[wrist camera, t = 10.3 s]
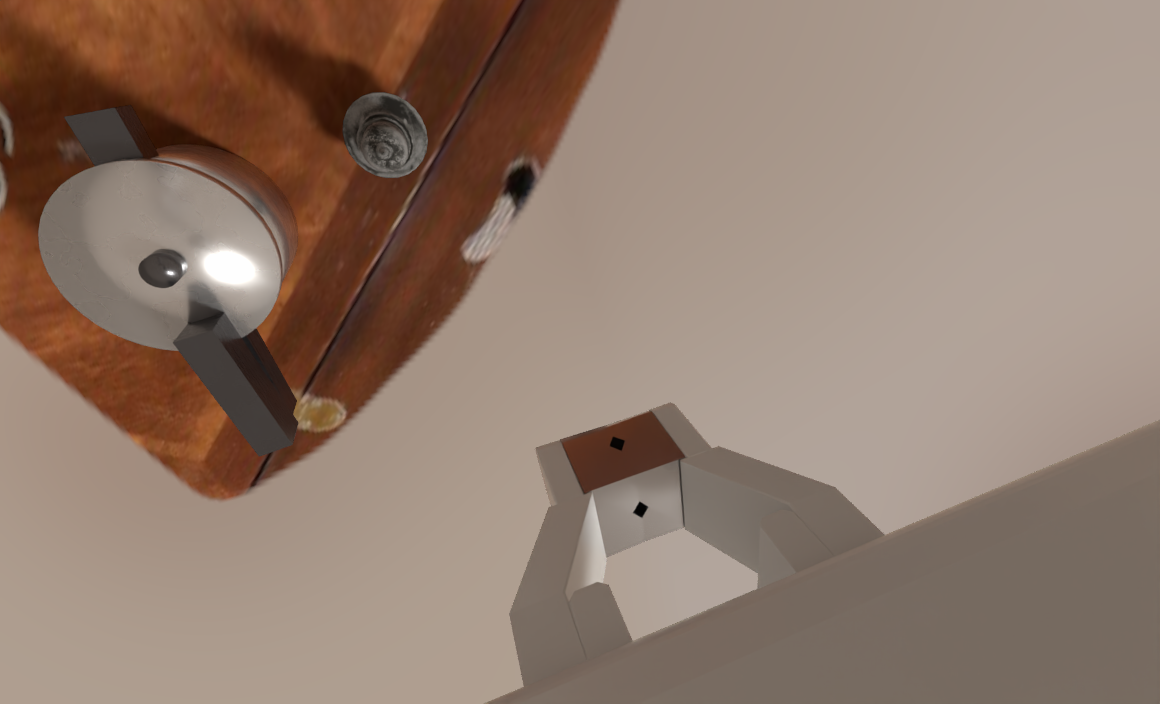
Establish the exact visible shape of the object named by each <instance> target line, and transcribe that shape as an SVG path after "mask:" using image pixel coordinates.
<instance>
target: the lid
mask: <svg viewBox="0 0 1160 704" xmlns="http://www.w3.org/2000/svg"><path fill="white" fill-rule="evenodd" d="M38 233H39V247H40V252H41V256H42V260H43V262H44V265H45V267H46V270H47V272H48V274H49V275H50V277H51V279H52V281H53V283H54V284H55V285H56V287H57V288H58V289H59V291H60V292H61V293H62V295H63V296H64V297H65V298H66V299H67V300H68V301H69V302H70V303H71V304H72V305H73V307H75V308H76V309H77V310H78V311H79V312H81V313H82V314H83V315H84V316H85V317H87V318H88V319H90V320H91V321H92V322H94V323H95V324H97V325H98V326H100V327H102V328H104V329H105V330H107V331H109V332H111V333H113V334H115V335H117V336H120V337H122V338H124V339H126V340H129V341H132V342H135V343H138V344H141V345H145V346H149V347H154V348H159V349H166V350H176V351H179V352H180V353H181V354H182V356H183V357H184V358H185V360H186V361H187V362H188V364H189V365H190V366H191V368H192V369H193V370H194V372H195V373H196V374H197V375H198V377H199V378H200V379H201V381H202V382H203V383H204V385H205V386H206V387H207V389H208V390H209V391H210V393H211V394H212V395H213V397H214V398H215V399H216V400H217V402H218V403H219V404H220V406H221V407H222V408H223V410H224V411H225V412H226V414H227V415H228V416H229V418H230V419H231V420H232V422H233V423H234V424H235V425H236V427H237V428H238V429H239V431H240V432H241V433H242V435H243V436H244V437H245V439H246V440H247V441H248V443H249V444H250V445H251V447H252V448H253V449H254V450H255V452H256V453H257V454H258V456H262V455H265V454H268V453H270V452H273V451H276V450H279V449H282V448H284V447H287V446H290V445H293V441H294V437H295V433H296V430H297V426H298V421H297V420H296V418H295V417H294V415H293V414H292V412H291V411H290V409H289V408H288V406H287V405H286V403H285V402H284V400H283V399H282V397H281V396H280V394H279V393H278V392H277V390H276V389H275V387H274V386H273V384H272V383H271V381H270V380H269V378H268V377H267V375H266V374H265V372H264V371H263V369H262V368H261V366H260V365H259V363H258V362H257V360H256V359H255V357H254V356H253V354H252V353H251V351H250V350H249V348H248V347H247V345H246V344H245V342H244V341H243V339H242V337H244V336H246V335H248V334H249V333H250V332H252V331H253V330H254V329H256V328H257V327H258V326H259V325H260V324H261V323H262V322H263V321H264V320H265V318H266V317H267V316H268V314H269V313H270V311H271V310H272V308H273V306H274V304H275V302H276V300H277V298H278V295H279V292H280V289H281V284H282V278H283V265H282V259H281V253H280V250H279V247H278V244H277V241H276V239H275V237H274V235H273V233H272V231H271V229H270V228H269V226H268V225H267V223H266V222H265V220H264V219H263V217H262V216H261V215H260V214H259V213H258V211H257V210H256V209H255V208H254V207H253V206H252V205H251V204H250V203H249V202H248V201H247V200H246V199H245V198H244V197H243V196H241V195H240V194H239V193H237V192H236V191H235V190H234V189H232V188H231V187H229V186H228V185H226V184H225V183H223V182H221V181H220V180H218V179H216V178H214V177H212V176H210V175H208V174H206V173H204V172H202V171H199V170H197V169H194V168H191V167H189V166H185V165H182V164H178V163H174V162H170V161H163V160H157V159H142V158H137V159H122V160H117V161H112V162H107V163H104V164H101V165H98V166H95V167H92V168H89V169H86V170H84V171H82V172H80V173H78V174H76V175H74V176H72V177H71V178H70V179H68V180H67V181H66V182H64V183H63V184H62V185H60V187H59V188H58V189H57V190H56V191H55V192H54V193H53V194H52V195H51V197H50V199H49V200H48V202H47V204H46V205H45V207H44V210H43V213H42V215H41V218H40V224H39V231H38Z"/></svg>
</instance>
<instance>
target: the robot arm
mask: <svg viewBox="0 0 1160 704" xmlns="http://www.w3.org/2000/svg"><path fill="white" fill-rule="evenodd" d="M536 454H537V458H538V462H539V465H540V469H541V472H542V476H543V480H544V484H545V487H546V491H547V494H548V498H549V501H550V504H551V507H549V508H548V511H547V514H546V516H545V519H544V522H543V524H542V527H541V530H540V532H539V535H538V538H537V540H536V543H535V546H534V549H533V551H532V554H531V557H530V560H529V562H528V565H527V567H526V570H525V573H524V576H523V578H522V581H521V584H520V586H519V589H518V592H517V594H516V597H515V600H514V603H513V605H512V608H511V611H510V613H509V615H510V620H511V625H512V630H513V635H514V640H515V645H516V650H517V654H518V660H519V665H520V669H521V675H522V680H523V684H524V687H522V688H520V689H518V690H515V691H513V692H511V693H508V694H506V695H503V696H501V697H499V698H496V699H494V700H491V701H489V702H487V703H484V704H1160V420H1158V421H1155V422H1153V423H1151V424H1148V425H1146V426H1143V427H1141V428H1139V429H1137V430H1134V431H1132V432H1129V433H1127V434H1124V435H1122V436H1120V437H1117V438H1115V439H1113V440H1110V441H1108V442H1105V443H1103V444H1101V445H1099V446H1096V447H1094V448H1091V449H1089V450H1086V451H1084V452H1082V453H1079V454H1077V455H1074V456H1072V457H1070V458H1067V459H1065V460H1063V461H1060V462H1058V463H1055V464H1053V465H1051V466H1048V467H1046V468H1043V469H1041V470H1039V471H1036V472H1034V473H1032V474H1029V475H1027V476H1025V477H1022V478H1020V479H1017V480H1015V481H1012V482H1010V483H1008V484H1006V485H1003V486H1001V487H998V488H996V489H994V490H991V491H989V492H986V493H984V494H982V495H979V496H977V497H974V498H972V499H970V500H967V501H965V502H962V503H960V504H958V505H955V506H953V507H951V508H948V509H946V510H943V511H941V512H939V513H937V514H934V515H932V516H929V517H927V518H925V519H922V520H920V521H917V522H915V523H912V524H910V525H908V526H906V527H903V528H901V529H898V530H896V531H893V532H891V533H889V534H887V535H884V534H883V533H882V532H881V531H880V530H879V529H878V528H877V527H876V526H875V525H874V524H873V523H872V522H871V521H870V520H869V519H868V518H867V517H865V516H864V515H863V514H862V513H861V512H860V511H859V510H858V509H857V508H856V507H855V506H854V505H853V504H852V503H851V502H850V501H849V500H848V499H847V498H846V497H845V496H843V494H841V493H840V492H839V491H838V490H837V489H836V488H835V487H833V486H830V485H827V484H824V483H822V482H819V481H816V480H813V479H810V478H807V477H804V476H801V475H799V474H796V473H793V472H790V471H787V470H785V469H782V468H779V467H776V466H773V465H770V464H768V463H765V462H762V461H759V460H756V459H753V458H751V457H748V456H745V455H742V454H739V453H736V452H733V451H731V450H728V449H725V448H722V447H719V446H718V447H715V448H711V447H710V445H709V444H708V443H707V442H706V441H705V440H704V438H703V437H702V436H701V435H700V434H699V432H698V431H697V430H696V429H695V428H694V427H693V425H692V424H691V423H690V422H689V420H688V419H687V418H686V417H685V416H684V415H683V413H682V412H681V411H680V410H679V409H678V407H677V406H676V405H675V404H673V403H668V404H664V405H662V406H659V407H656V408H653V409H651V410H649V411H646V412H643V413H641V414H638V415H635V416H632V417H629V418H626V419H623V420H620V421H617V422H614V423H612V424H608V425H606V426H603V427H599V428H596V429H593V430H589V431H586V432H583V433H580V434H577V435H573V436H570V437H567V438H564V439H560V441H556V442H552V443H549V444H546V445H543V446H540V447H536ZM684 527H685V530H687V531H689V532H690V533H692V534H694V535H695V536H697V537H699V538H700V539H702V540H704V541H705V542H707V543H709V544H710V545H712V546H714V547H715V548H717V549H718V550H721V551H722V552H723V553H725V554H727V555H728V556H730V557H732V558H733V559H735V560H737V561H738V562H740V563H742V564H744V565H745V566H747V567H748V568H750V569H752V570H753V571H755V572H757V573H758V589H756V590H754V591H751V592H749V593H746V594H745V595H742V596H740V597H737V598H734V599H732V600H730V601H727V602H725V603H723V604H720V605H718V606H715V607H713V608H711V609H708V610H706V611H703V612H701V613H699V614H697V615H694V616H692V617H689V618H687V619H684V620H682V621H680V622H677V623H675V624H672V625H670V626H668V627H665V628H663V629H661V630H658V631H656V632H653V633H651V634H649V635H646V636H644V637H642V638H639V639H637V640H635V641H632V638H631V636H630V634H629V632H628V629H627V627H626V624H625V622H624V620H623V617H622V615H621V613H620V610H619V608H618V606H617V603H616V601H615V598H614V596H613V594H612V591H611V589H610V587H609V585H607V584H603V580H604V574H605V568H606V562H607V559H606V557H609V556H611V555H614V554H616V553H618V552H621V551H623V550H626V549H628V548H630V547H633V546H635V545H638V544H640V543H642V542H645V541H647V540H650V539H653V538H656V537H659V536H662V535H665V534H667V533H670V532H673V531H675V530H679V529H682V528H684Z"/></svg>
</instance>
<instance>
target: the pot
mask: <svg viewBox="0 0 1160 704" xmlns="http://www.w3.org/2000/svg"><path fill="white" fill-rule="evenodd" d="M64 118H65V119H66V121H67V123H68V124H69V126H70V127H71V129H72V131H73V132H74V134H75V135H76V137H77V138H78V140H79V142H80V143H81V145H82V146H83V148H84V150H85V151H86V153H87V154H88V156H89V158H90V159H91V161H92V162H93V164H94V165H95V166H98V165H101V164H104V163H107V162H112V161H117V160H122V159H137V158H142V159H157V160H163V161H170V162H174V163H178V164H182V165H185V166H189V167H191V168H194V169H197V170H199V171H202V172H204V173H206V174H208V175H210V176H212V177H214V178H216V179H218V180H220V181H221V182H223V183H225V184H226V185H228V186H229V187H231V188H232V189H234V190H235V191H236V192H237V193H239V194H240V195H241V196H243V197H244V198H245V199H246V200H247V201H248V202H249V203H250V204H251V205H252V206H253V207H254V208H255V209H256V210H257V211H258V213H259V214H260V215H261V216H262V217H263V219H264V220H265V222H266V223H267V225H268V226H269V228H270V229H271V231H272V233H273V235H274V237H275V239H276V241H277V244H278V247H279V250H280V253H281V259H282V265H283V278H282V282H283V280H284V278H285V276H286V274H287V272H288V270H289V268H290V266H291V264H292V262H293V260H294V257H295V255H296V251H297V246H298V228H297V223H296V219H295V216H294V213H293V210H292V208H291V206H290V204H289V202H288V200H287V198H286V197H285V196H284V194H283V193H282V191H281V190H280V189H279V187H278V186H277V185H276V184H275V183H274V182H273V181H272V180H271V179H270V178H269V177H268V176H267V175H266V174H265V173H264V172H262V171H261V170H260V169H258V168H257V167H256V166H254V165H253V164H251V163H250V162H248V161H246V160H244V159H243V158H241V157H239V156H236V155H234V154H232V153H230V152H227V151H224V150H221V149H218V148H214V147H209V146H204V145H195V144H178V145H171V146H166V147H162V148H158V149H155V147H154V145H153V143H152V142H151V140H150V138H149V136H148V134H147V133H146V131H145V129H144V127H143V126H142V124H141V122H140V120H139V118H138V117H137V115H136V113H135V111H134V109H133V108H132V106H131V105H129V106H122V107H116V108H110V109H105V110H99V111H94V112H88V113H83V114H77V115H72V116H66V117H64ZM242 339H243V341H244V342H245V344H246V345H247V347H248V348H249V350H250V351H251V353H252V354H253V356H254V357H255V359H256V360H257V362H258V363H259V365H260V366H261V368H262V369H263V371H264V372H265V374H266V375H267V377H268V378H269V380H270V381H271V383H272V384H273V386H274V387H275V389H276V390H277V392H278V393H279V394H280V396H281V397H282V399H283V400H284V402H285V403H286V405H287V406H288V408H289V409H290V411H291V412H292V414H293V412H294V409H295V405H296V402H297V400H296V398H295V397H294V395H293V393H292V391H291V389H290V388H289V386H288V384H287V382H286V380H285V379H284V377H283V375H282V373H281V372H280V370H279V368H278V366H277V364H276V363H275V361H274V359H273V357H272V356H271V354H270V352H269V350H268V348H267V347H266V345H265V343H264V341H263V339H262V338H261V336H260V334H259V332H258V331H257V329H254V330H253V331H252V332H250V333H249V334H248V335H246V336H244V337H242Z"/></svg>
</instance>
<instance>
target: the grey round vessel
mask: <svg viewBox="0 0 1160 704" xmlns="http://www.w3.org/2000/svg"><path fill="white" fill-rule="evenodd" d="M343 137H344V142H345V145H346V147H347V149H348V151H349V153H350V155H351V156H352V157H353V159H354V160H355V161H356V162H357V164H359V165H360V166H361V167H362V168H364V169H365V170H366V171H368V172H370V173H372V174H374V175H376V176H381V177H386V178H396V177H401V176H404V175H407V174H409V173H410V172H412V171H413V170H415V169H416V168H417V167H418V166H419V164H420V163H421V162H422V161H423V158H424V156H425V153H426V150H427V142H428V139H427V132H426V128H425V125H424V123H423V120H422V118H421V117H420V115H419V114H418V112H417V111H416V110H415V109H414V108H413V107H412V106H411V105H410V104H409V103H408V102H407V101H405V100H403V99H402V98H400V97H398V96H396V95H393V94H389V93H385V92H376V93H370V94H367V95H364V96H362V97H360V98H359V99H357V100H356V101H354V102H353V104H352V105H351V106H350V107H349V109H348V110H347V112H346V115H345V118H344V120H343Z"/></svg>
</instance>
